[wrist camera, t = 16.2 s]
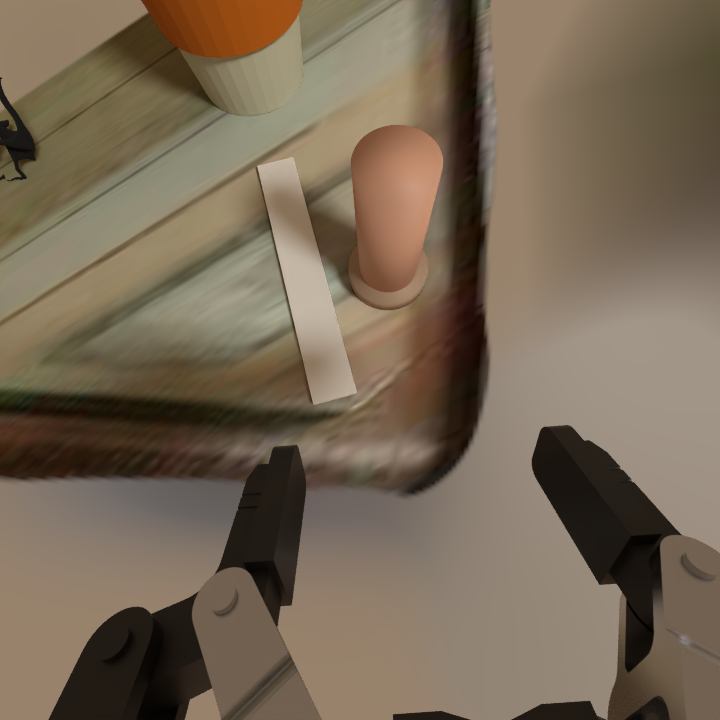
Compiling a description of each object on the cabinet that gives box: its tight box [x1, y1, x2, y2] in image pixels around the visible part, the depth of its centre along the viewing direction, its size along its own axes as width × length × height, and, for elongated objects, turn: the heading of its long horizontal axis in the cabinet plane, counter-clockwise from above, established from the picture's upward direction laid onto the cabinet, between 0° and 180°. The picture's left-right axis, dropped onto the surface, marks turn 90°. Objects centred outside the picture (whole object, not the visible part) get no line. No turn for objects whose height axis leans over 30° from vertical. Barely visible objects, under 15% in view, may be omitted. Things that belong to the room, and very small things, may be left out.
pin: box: [348, 125, 443, 310], centre depth 19 cm, size 6×6×10 cm
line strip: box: [257, 157, 357, 405], centre depth 24 cm, size 3×20×1 cm, turn 15°
